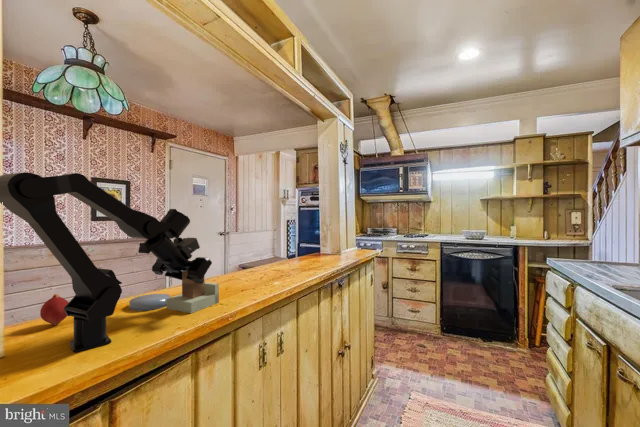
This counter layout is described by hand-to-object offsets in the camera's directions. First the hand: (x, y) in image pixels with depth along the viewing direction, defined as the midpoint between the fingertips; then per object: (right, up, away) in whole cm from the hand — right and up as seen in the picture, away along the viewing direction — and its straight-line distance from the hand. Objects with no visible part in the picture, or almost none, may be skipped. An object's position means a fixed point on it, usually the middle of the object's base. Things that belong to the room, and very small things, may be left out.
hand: (196, 281), depth 93 cm
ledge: (-1, -7, -1) cm, 7 cm away
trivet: (-14, -7, -1) cm, 16 cm away
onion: (-29, -7, -17) cm, 35 cm away
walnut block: (-1, -4, -1) cm, 4 cm away
